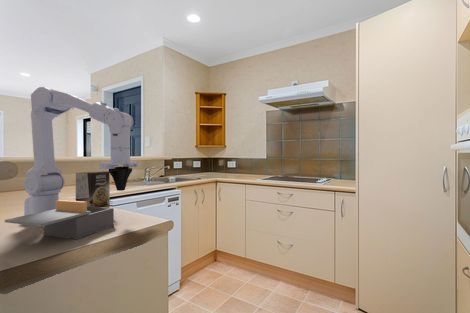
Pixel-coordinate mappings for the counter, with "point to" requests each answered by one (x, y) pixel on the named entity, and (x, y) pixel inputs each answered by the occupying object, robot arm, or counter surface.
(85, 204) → the box lid
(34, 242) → the counter surface
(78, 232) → the grey box
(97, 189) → the coffee box
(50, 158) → the robot arm
